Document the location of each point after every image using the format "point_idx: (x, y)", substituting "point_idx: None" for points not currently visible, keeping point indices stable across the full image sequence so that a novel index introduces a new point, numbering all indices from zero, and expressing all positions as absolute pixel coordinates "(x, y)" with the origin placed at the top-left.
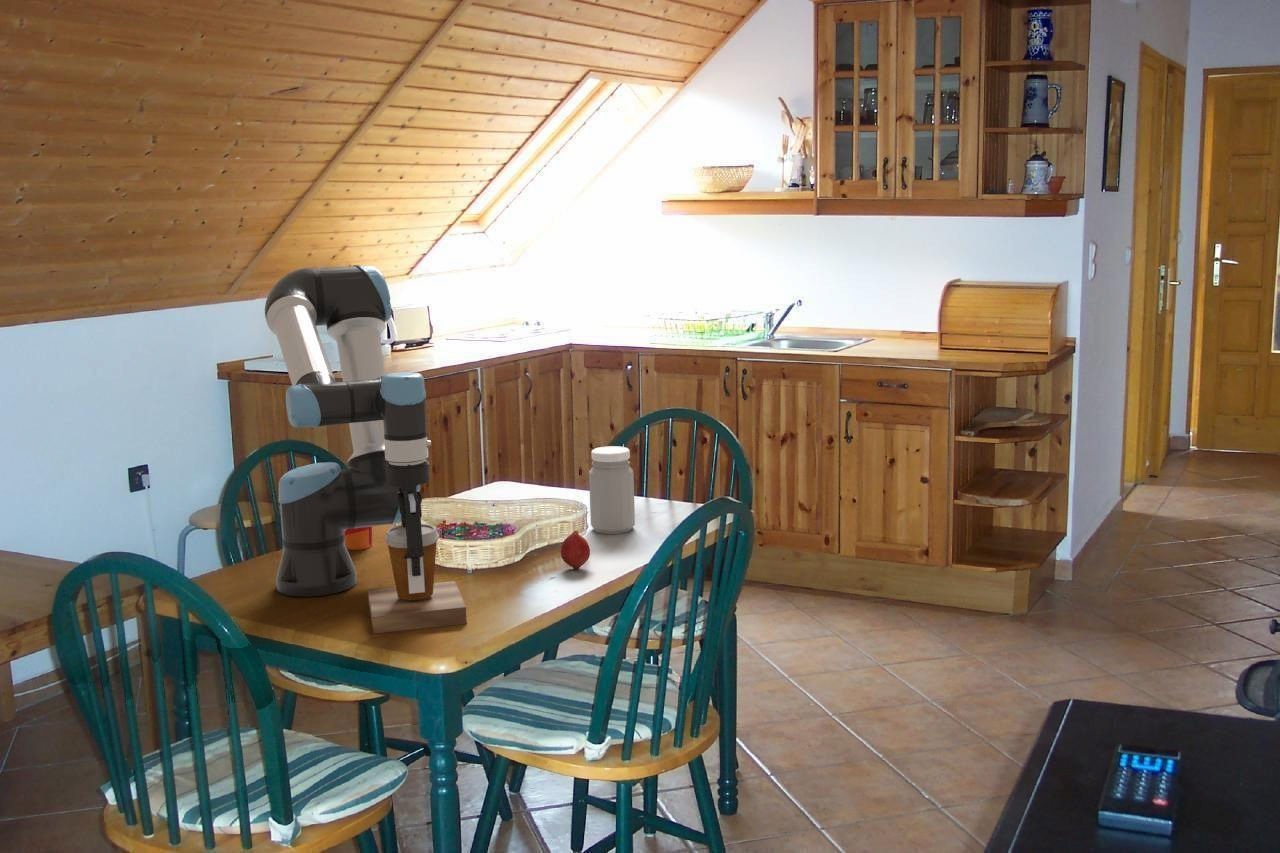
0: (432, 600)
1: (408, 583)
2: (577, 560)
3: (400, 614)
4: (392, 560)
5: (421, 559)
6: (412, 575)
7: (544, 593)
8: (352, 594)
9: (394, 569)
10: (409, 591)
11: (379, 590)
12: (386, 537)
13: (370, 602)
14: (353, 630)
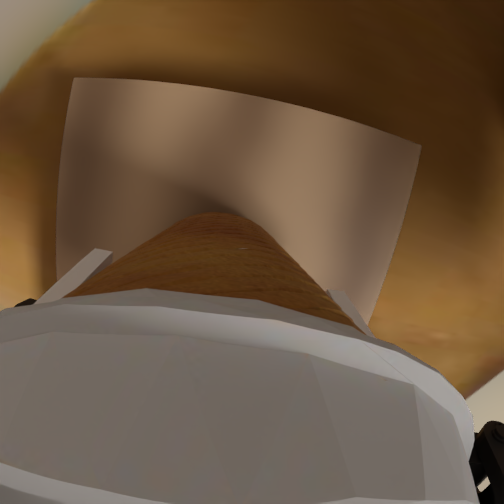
0: None
1: (94, 267)
2: None
3: (59, 179)
4: (156, 251)
5: None
6: (31, 301)
7: None
8: (495, 146)
9: (168, 238)
10: (91, 252)
11: (392, 180)
12: (193, 373)
13: (257, 98)
14: (163, 31)
